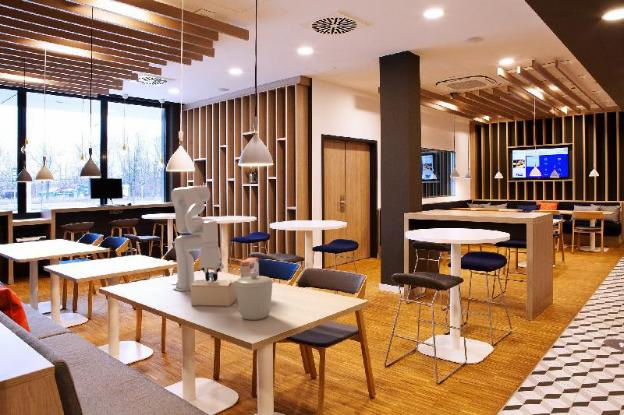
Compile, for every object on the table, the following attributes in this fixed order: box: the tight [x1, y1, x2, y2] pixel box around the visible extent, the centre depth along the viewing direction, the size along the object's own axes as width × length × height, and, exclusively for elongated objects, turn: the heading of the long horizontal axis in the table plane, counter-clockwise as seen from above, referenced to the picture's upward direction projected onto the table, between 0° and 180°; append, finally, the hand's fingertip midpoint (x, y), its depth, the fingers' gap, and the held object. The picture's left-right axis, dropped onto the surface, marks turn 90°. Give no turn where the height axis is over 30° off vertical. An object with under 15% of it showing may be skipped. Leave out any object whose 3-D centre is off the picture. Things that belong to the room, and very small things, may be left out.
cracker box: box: [239, 257, 260, 278], centre depth 241 cm, size 14×6×21 cm, turn 168°
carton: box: [190, 279, 238, 308], centre depth 233 cm, size 20×13×11 cm, turn 80°
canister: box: [234, 272, 275, 321], centre depth 207 cm, size 18×18×21 cm
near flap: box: [191, 271, 233, 287], centre depth 229 cm, size 19×6×6 cm, turn 80°
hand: (211, 280), depth 230 cm, fingers closed on near flap, 3 cm apart
